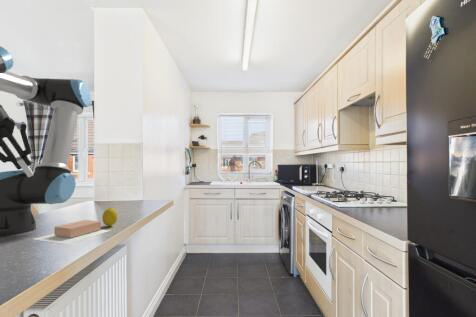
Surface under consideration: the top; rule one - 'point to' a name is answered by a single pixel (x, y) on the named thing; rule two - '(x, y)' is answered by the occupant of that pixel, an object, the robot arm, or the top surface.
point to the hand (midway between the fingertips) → (30, 174)
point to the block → (77, 228)
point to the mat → (68, 240)
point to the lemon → (109, 217)
